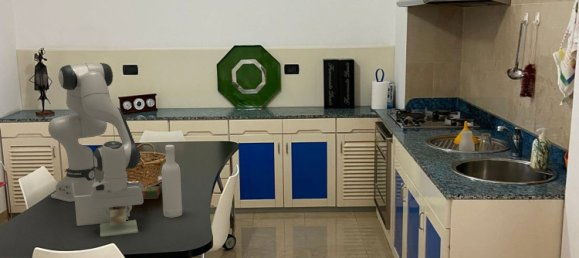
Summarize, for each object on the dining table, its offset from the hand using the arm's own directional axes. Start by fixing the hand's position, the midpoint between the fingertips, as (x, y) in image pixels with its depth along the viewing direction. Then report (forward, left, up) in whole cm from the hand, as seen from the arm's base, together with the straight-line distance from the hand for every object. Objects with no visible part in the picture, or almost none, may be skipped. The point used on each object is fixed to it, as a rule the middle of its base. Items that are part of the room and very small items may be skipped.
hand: (118, 217), depth 230 cm
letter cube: (0, 0, -2) cm, 2 cm away
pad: (0, 0, -5) cm, 5 cm away
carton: (-19, +40, -6) cm, 45 cm away
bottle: (+10, +22, -5) cm, 25 cm away
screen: (-11, +4, -5) cm, 13 cm away
